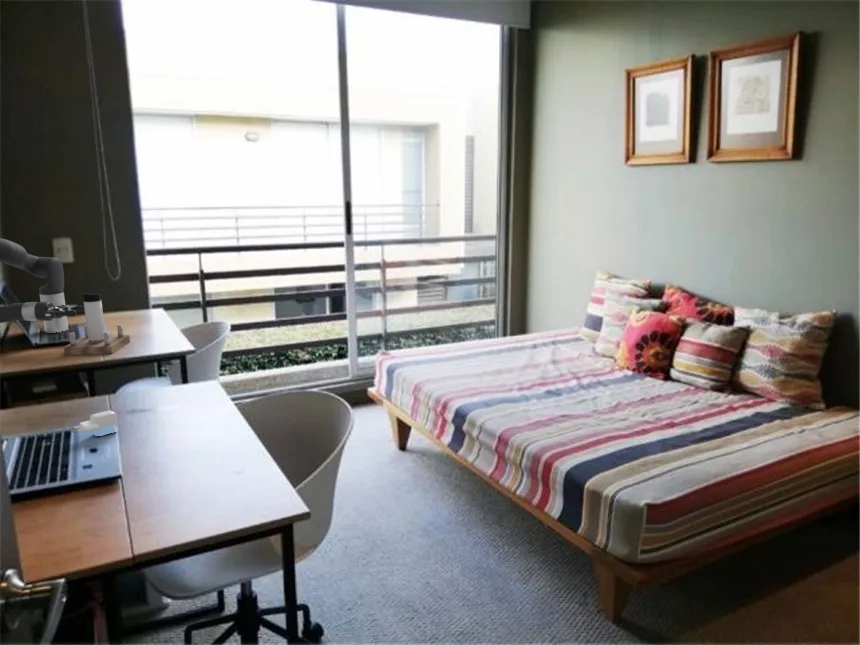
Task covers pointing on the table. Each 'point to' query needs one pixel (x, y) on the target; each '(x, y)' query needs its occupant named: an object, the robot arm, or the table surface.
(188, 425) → the table surface
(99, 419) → the power adapter
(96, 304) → the travel mug
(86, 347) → the peg stand
